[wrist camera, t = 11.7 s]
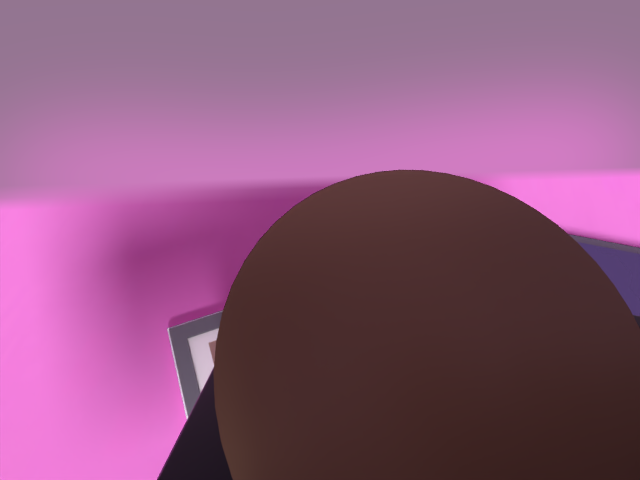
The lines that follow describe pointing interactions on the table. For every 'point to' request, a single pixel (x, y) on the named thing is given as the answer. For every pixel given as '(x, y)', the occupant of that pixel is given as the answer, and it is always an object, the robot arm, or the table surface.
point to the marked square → (193, 355)
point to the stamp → (425, 342)
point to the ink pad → (617, 267)
